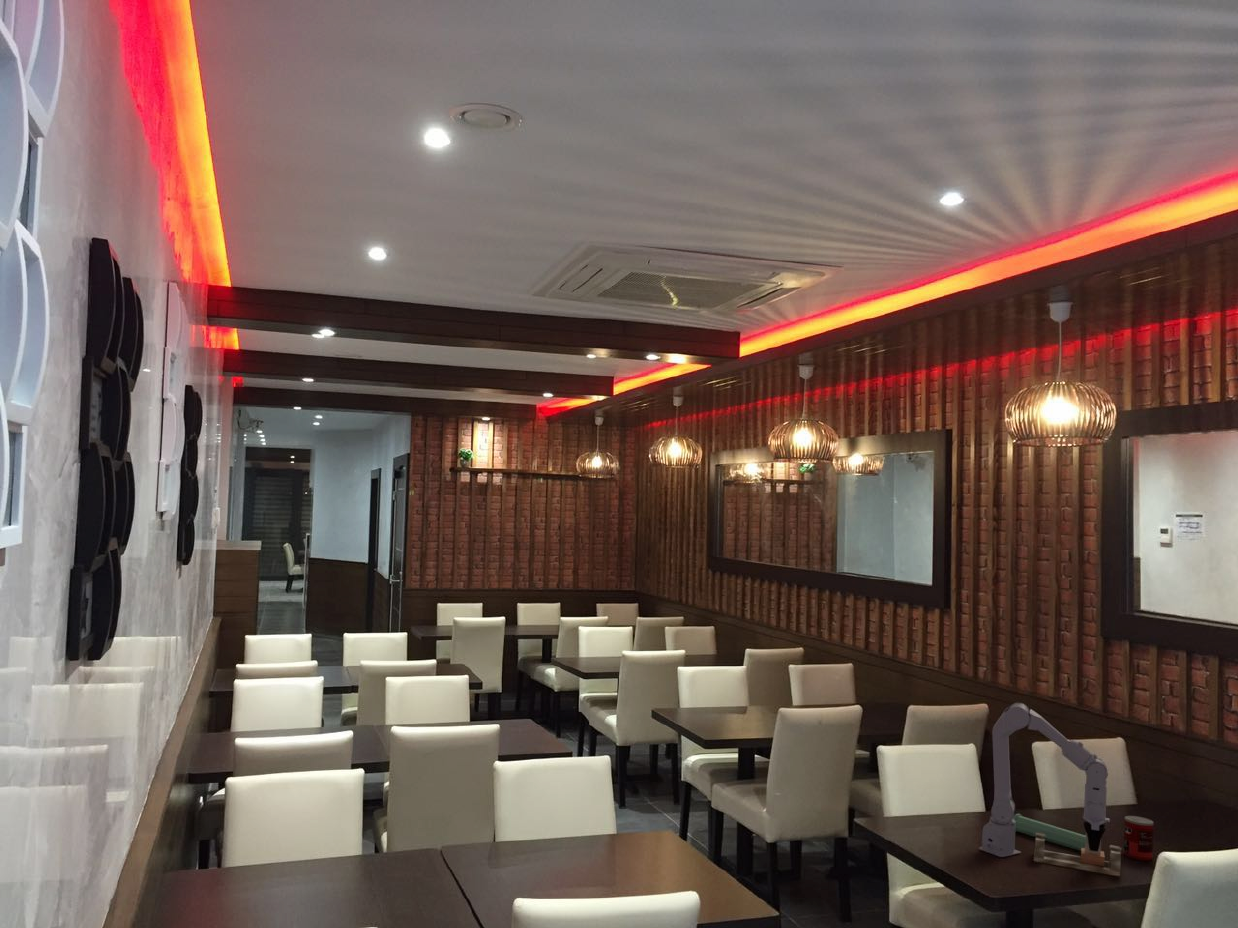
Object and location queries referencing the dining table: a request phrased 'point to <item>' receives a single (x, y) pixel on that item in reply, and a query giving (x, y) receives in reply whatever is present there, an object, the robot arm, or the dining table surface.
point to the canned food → (1138, 837)
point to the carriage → (1092, 855)
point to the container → (1050, 832)
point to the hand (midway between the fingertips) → (1093, 849)
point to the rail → (1076, 858)
